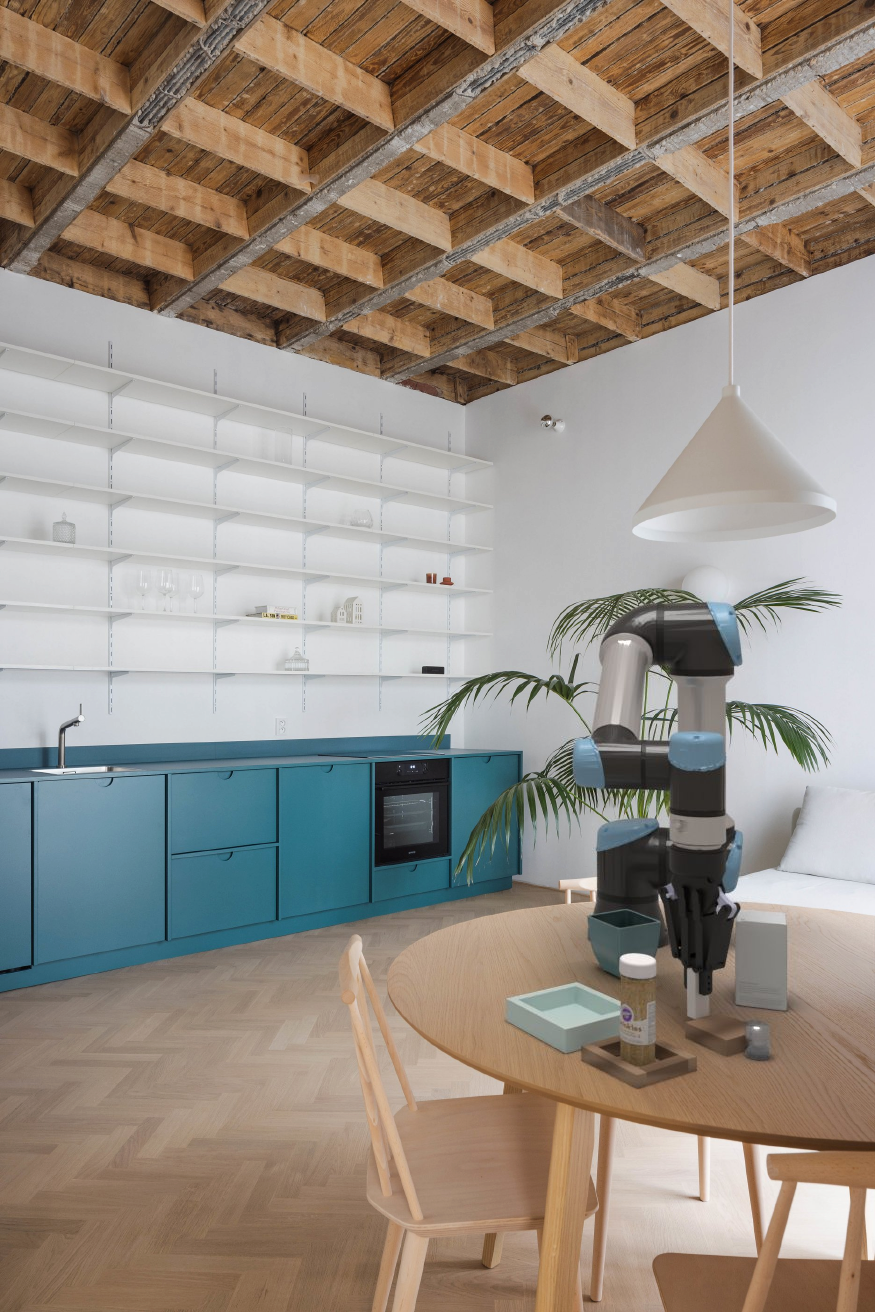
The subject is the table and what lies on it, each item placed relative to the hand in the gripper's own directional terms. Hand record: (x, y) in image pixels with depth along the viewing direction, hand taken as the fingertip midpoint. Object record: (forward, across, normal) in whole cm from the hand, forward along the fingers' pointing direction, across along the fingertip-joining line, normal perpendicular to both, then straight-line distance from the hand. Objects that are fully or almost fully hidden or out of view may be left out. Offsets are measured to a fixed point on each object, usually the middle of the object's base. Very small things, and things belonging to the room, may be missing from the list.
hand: (698, 1015), depth 125 cm
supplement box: (+2, -3, +17) cm, 17 cm away
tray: (+2, -10, -14) cm, 17 cm away
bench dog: (+2, +10, 0) cm, 10 cm away
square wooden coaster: (+2, +4, 0) cm, 5 cm away
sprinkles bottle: (+2, +4, -15) cm, 16 cm away
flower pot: (+2, -23, +8) cm, 24 cm away
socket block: (+2, +4, -15) cm, 16 cm away
